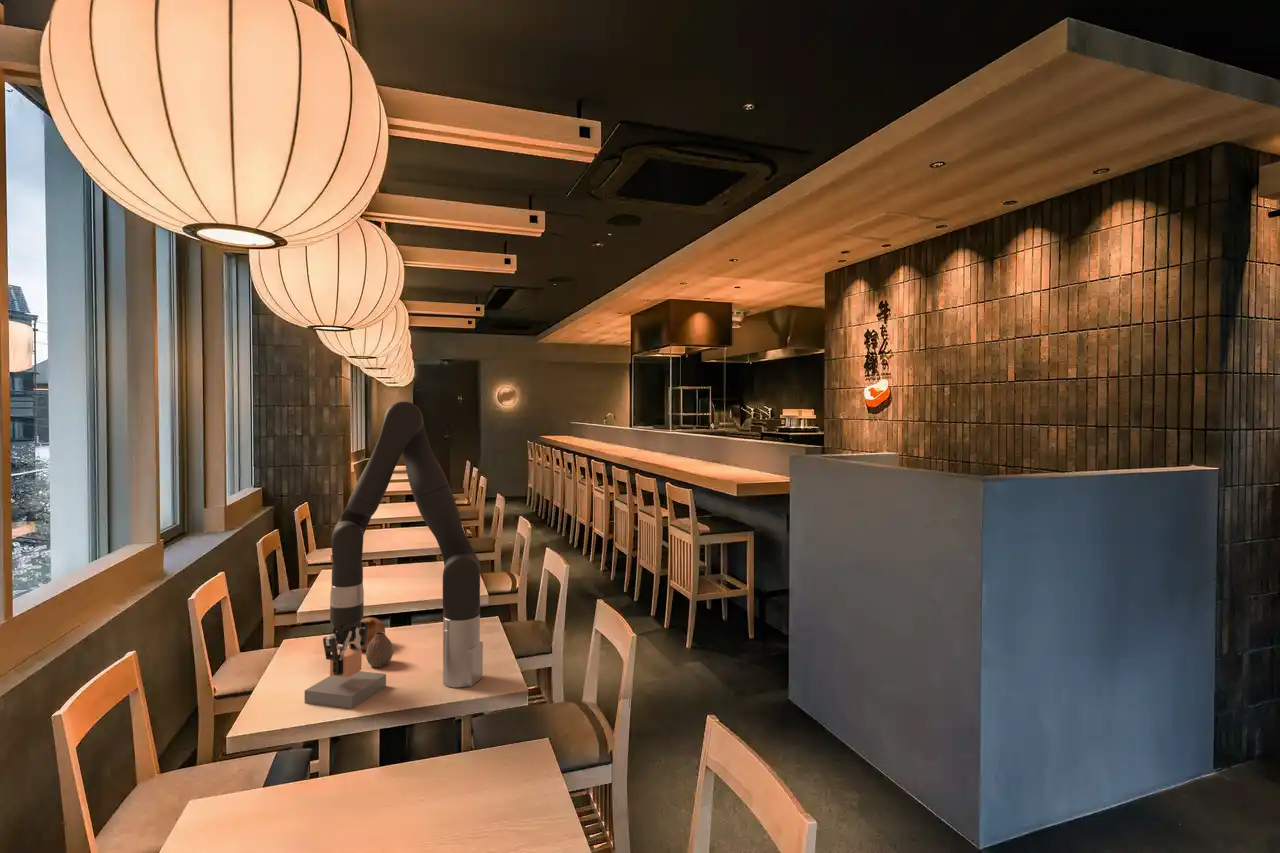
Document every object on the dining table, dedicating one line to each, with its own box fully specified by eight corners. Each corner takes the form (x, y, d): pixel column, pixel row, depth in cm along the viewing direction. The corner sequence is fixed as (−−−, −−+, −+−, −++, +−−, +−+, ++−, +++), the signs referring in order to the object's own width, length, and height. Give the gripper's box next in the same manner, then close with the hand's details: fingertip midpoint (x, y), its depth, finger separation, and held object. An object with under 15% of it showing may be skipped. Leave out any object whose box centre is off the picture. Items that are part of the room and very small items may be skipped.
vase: (397, 660, 175) (397, 629, 174) (385, 670, 168) (385, 638, 168) (374, 659, 175) (374, 628, 175) (360, 668, 168) (361, 637, 168)
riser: (386, 685, 158) (386, 674, 158) (351, 709, 145) (352, 696, 145) (341, 680, 161) (341, 669, 161) (304, 702, 148) (304, 690, 148)
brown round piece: (373, 661, 181) (378, 635, 177) (342, 652, 181) (346, 626, 177) (388, 639, 190) (392, 614, 186) (358, 630, 190) (362, 605, 186)
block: (361, 669, 155) (361, 649, 155) (347, 677, 150) (348, 657, 150) (344, 667, 156) (344, 647, 156) (330, 675, 151) (330, 655, 151)
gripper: (340, 611, 145) (339, 683, 145) (378, 595, 159) (377, 660, 159) (312, 609, 147) (311, 680, 147) (353, 592, 161) (352, 657, 161)
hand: (346, 669), depth 153 cm, fingers closed on block, 5 cm apart
